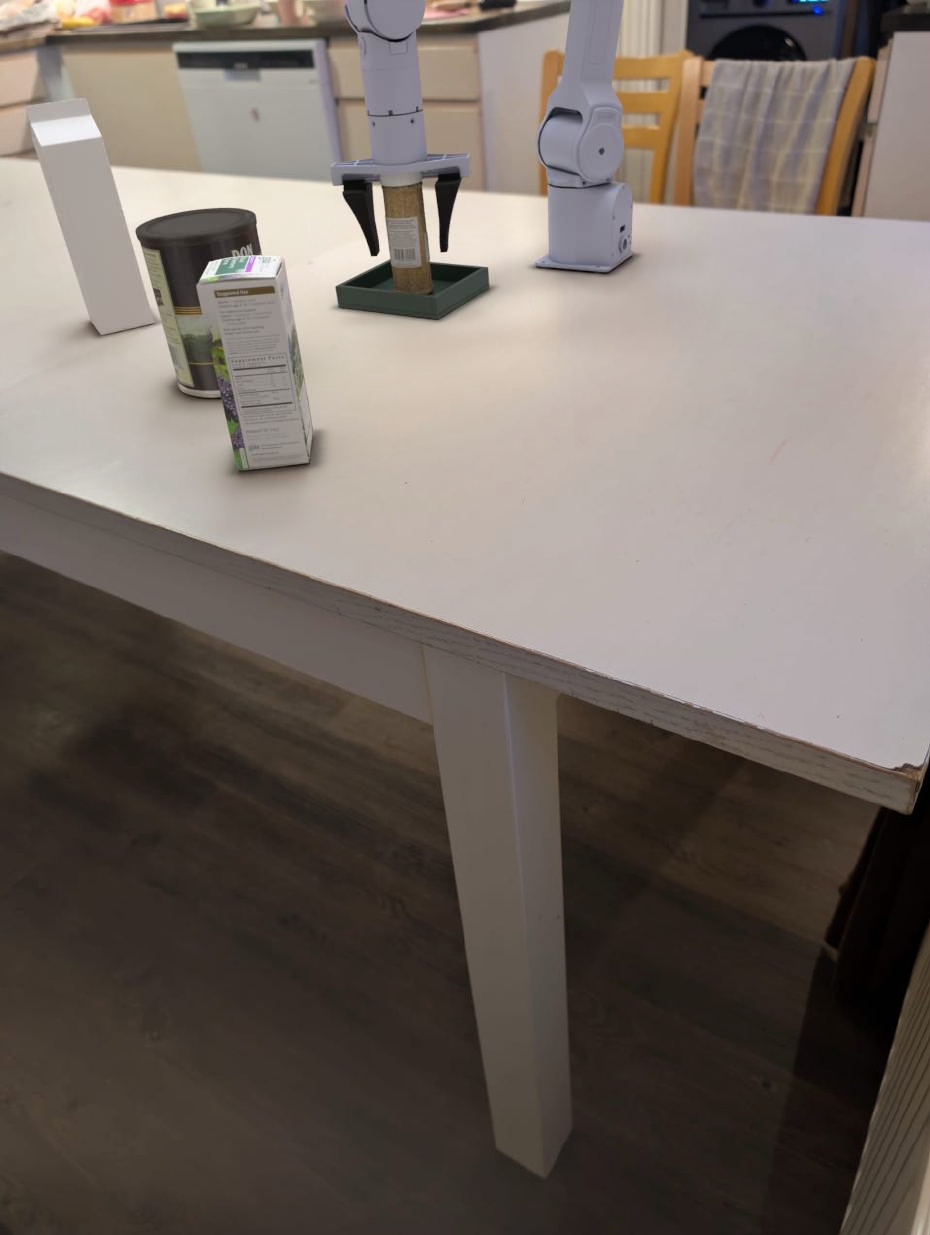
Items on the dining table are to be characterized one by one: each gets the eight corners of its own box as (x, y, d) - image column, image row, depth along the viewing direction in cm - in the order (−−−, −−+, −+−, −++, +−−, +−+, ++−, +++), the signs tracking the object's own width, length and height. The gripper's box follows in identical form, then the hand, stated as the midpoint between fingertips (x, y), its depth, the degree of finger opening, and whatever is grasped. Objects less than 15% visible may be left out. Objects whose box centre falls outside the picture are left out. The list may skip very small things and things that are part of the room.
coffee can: (307, 365, 88) (279, 210, 79) (233, 406, 81) (194, 241, 73) (230, 351, 92) (196, 203, 84) (154, 388, 86) (109, 231, 77)
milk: (155, 324, 102) (93, 100, 88) (100, 336, 100) (28, 109, 86) (142, 310, 106) (81, 95, 93) (89, 321, 104) (20, 103, 91)
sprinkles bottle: (441, 288, 102) (429, 157, 94) (419, 301, 99) (405, 167, 91) (407, 285, 105) (393, 156, 97) (385, 297, 101) (368, 165, 93)
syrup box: (245, 440, 75) (202, 259, 66) (316, 433, 75) (283, 251, 66) (237, 472, 70) (190, 282, 62) (313, 464, 70) (277, 273, 62)
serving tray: (489, 287, 103) (488, 267, 102) (437, 319, 96) (435, 297, 94) (394, 277, 109) (391, 258, 108) (338, 307, 102) (335, 286, 100)
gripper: (469, 100, 94) (477, 238, 102) (332, 110, 95) (351, 245, 103) (464, 111, 88) (473, 256, 96) (318, 121, 90) (339, 263, 98)
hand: (409, 252), depth 99 cm, fingers open, 7 cm apart
